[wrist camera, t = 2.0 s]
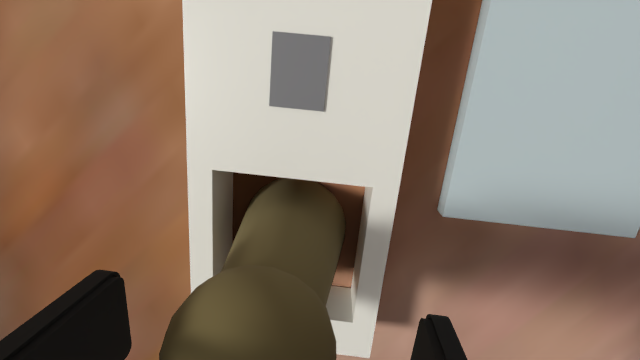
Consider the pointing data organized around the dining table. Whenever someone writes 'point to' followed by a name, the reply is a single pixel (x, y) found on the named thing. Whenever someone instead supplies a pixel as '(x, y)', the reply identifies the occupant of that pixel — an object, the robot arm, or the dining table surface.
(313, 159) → the white board with cutout
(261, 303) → the olive rounded piece
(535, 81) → the rubber mat
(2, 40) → the dining table surface
